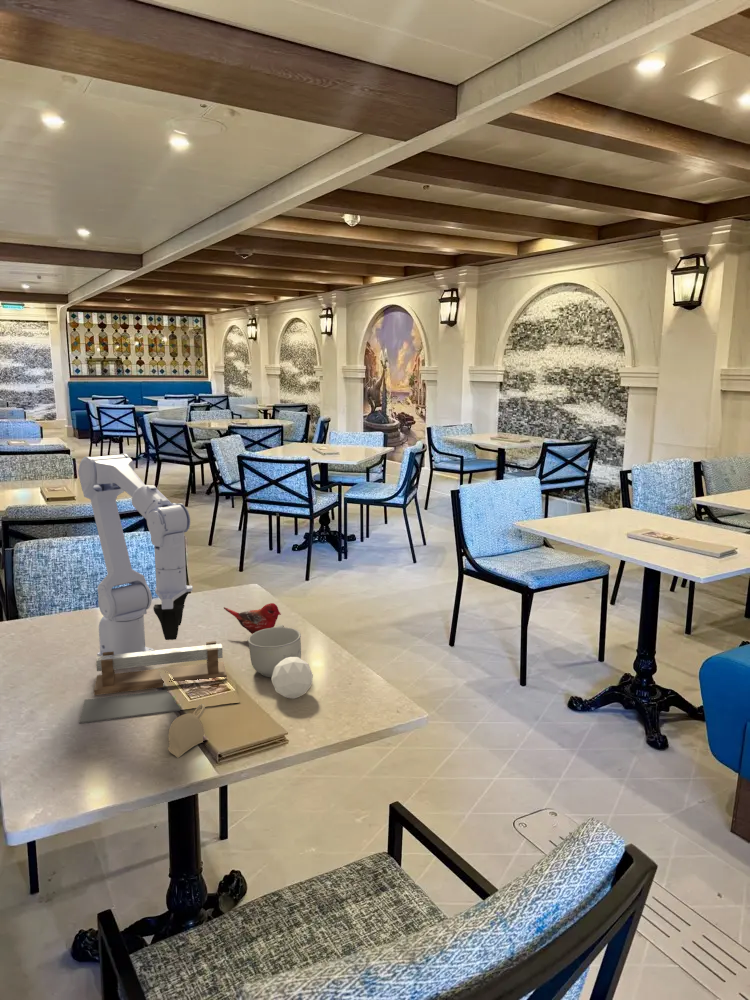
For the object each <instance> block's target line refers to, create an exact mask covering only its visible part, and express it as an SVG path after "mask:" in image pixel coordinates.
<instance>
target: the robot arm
mask: <svg viewBox="0 0 750 1000" xmlns="http://www.w3.org/2000/svg"><path fill="white" fill-rule="evenodd" d="M77 472H78V473H77V474H78V478H79V479H78V480H79V482H80V486H81V491H82V494H83V497H84V498H86V499H89V500H90V503H91V506H92V507H91V508H92V512H93V516H94V517H93V518H94V520H95V525H96V529H97V533H98V538H99V542H100V546H101V547H100V548H101V551H102V555H103V560H104V564H105V567H106V568H105V569H106V573H107V575H105V577H104V578H103V579H102V580H101V581H100V583H99V584H98V586H97V595H98V596H97V598H98V600H97V605H98V609H99V611H100V613H101V615H102V617H101V619H100V621H99V624H98V638H99V639H98V640H99V652H97V654H96V655H97V656H103V652H113V651H114V655H115V654H125V653H135V652H145V651H154V650H155V649H154V648H151V647H148V646H146V636H145V635H146V634H145V633H146V632H145V617H144V615H147V613H148V612H147V611H148V610H149V608H150V607H151V605H152V600H153V598H152V597H153V596H152V592H151V589H150V587H149V586H148V583H147V581H146V578H145V575H143V574H142V573H140V572H138V571H136V570H134V569H133V568H132V563H131V560H130V556H129V551H128V547H127V543H126V539H125V534H124V531H123V530H124V529H123V526H122V522H121V517H120V514H119V509H118V505H117V498H118V497H119V496H120V495H122V494H123V493H124V492H125V493H127V494H128V495H129V496H130V497H131V505H132V506H133V507H134V509H136V511H137V512H138V513H139V514H140V515H141V516H142V517H143V518H144V519H145V520H146V525H147V528H148V529H147V530H148V531H149V534H150V541H151V544H152V545H153V546H154V566H155V568H154V569H155V570H154V571H155V585H156V586H155V589H154V591H155V594H156V596H157V597H158V598H159V599H160V600H161V603H160V604H156V603H155V604H153V609H152V610H153V612H154V614H155V616H156V617H157V618H158V621H159V623H160V626H161V630H162V633H163V637H164V640H165V641H170V640H171V641H173V640H175V641H176V640H177V639H178V634H179V626H181V624H182V621H183V614H184V609H185V602H186V599H187V597H188V594H189V593H191V592H192V591H193V585H187V571H186V568H187V567H186V566H187V562H186V539H185V537H186V536H185V533H187V532H188V531H189V529H190V525H191V517H190V513H189V510H188V509H187V507H186V506H185V504H184V503H179V502H178V503H176V502H171V500H169V499H168V497H166V496H165V495H164V493H162V492H161V491H160V490H159V489H158V488H157V487H156V485H154V484H152V485H151V484H145V482H144V481H143V480H142V479H141V478H140V476H139V475H138V473H136V472H135V465H134V461H133V459H132V458H131V457H130V456H129V455H128V454H127V453H120V454H111V455H110V454H109V455H102V456H101V455H100V456H99V455H98V456H84V457H83V458H81V461H80V463H79V466H78V471H77ZM128 584H129V585H128ZM121 585H124V586H121ZM118 586H119V587H118ZM113 587H116V588H113Z"/></svg>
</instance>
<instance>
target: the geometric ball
mask: <svg viewBox="0 0 750 1000" xmlns="http://www.w3.org/2000/svg"><path fill="white" fill-rule="evenodd" d="M313 677H314V674H313V672H312V669H311V666H310V664H309V663H308V662H307V661H306V660H304V659H302V658H301V659H300V658H299V657H288V658H285V659H283V660H282V661H281V662H279V663H278V664H277V665H276V666H275V668H274V671H273V675H272V677H271V683H272V685H273V688H274V691H275V692H276V693H278V694H279V695H281V696H282V697H284V698H287V699H297V698H300V697H301V696H303V695H305V694H306V693H307V692H308V690H309V689H310V688H311V686H312V683H313Z"/></svg>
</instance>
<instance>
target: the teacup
mask: <svg viewBox="0 0 750 1000" xmlns="http://www.w3.org/2000/svg"><path fill="white" fill-rule="evenodd" d="M301 637H302V636H301V631H300V630H298V629H295V628H293V627H286V626H285V627H284V625H283V624H277V625H276V626H274V627H273V628H267V629H262V630H260V631H257V632H255V633H253V634H251V635H249V636H248V638H247V642H248V647H249V655H250V656H249V657H250V663H251V665H252V668H253V669H254V670H255V672H257V673H260V675H262V676H264V677H267V678H272V675H273V671H274V668H275V666H276V665H277V664H278V663H279V662H281V661H282V660H283V659H285V658H288V657H299V658H300V659H302V642H301Z"/></svg>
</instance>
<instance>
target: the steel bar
mask: <svg viewBox="0 0 750 1000" xmlns="http://www.w3.org/2000/svg"><path fill="white" fill-rule="evenodd" d="M212 648H217V649H218V659H223V645H222V643H216V644H213V645H206V644H205V645H204V644H203V645H196V646H185V647H178V648H177V647H176V648H175V647H174V648H165V649H154V651H145V652H135V653H125V654H115V655H105V656H98V655H97V656H96V660H95V661H96V663H95V664H96V666H95V667H96V672H102V667H101V660H106V659H112V660H113V670H114V669H115V670H121V669H129V668H142V667H149V666H150V667H151V666H157V665H160V666H161V665H168V664H175V663H177V664H178V663H186V662H195V661H196V662H197V661H205V660H206V661H207V659H208V655H207V649H212Z"/></svg>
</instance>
